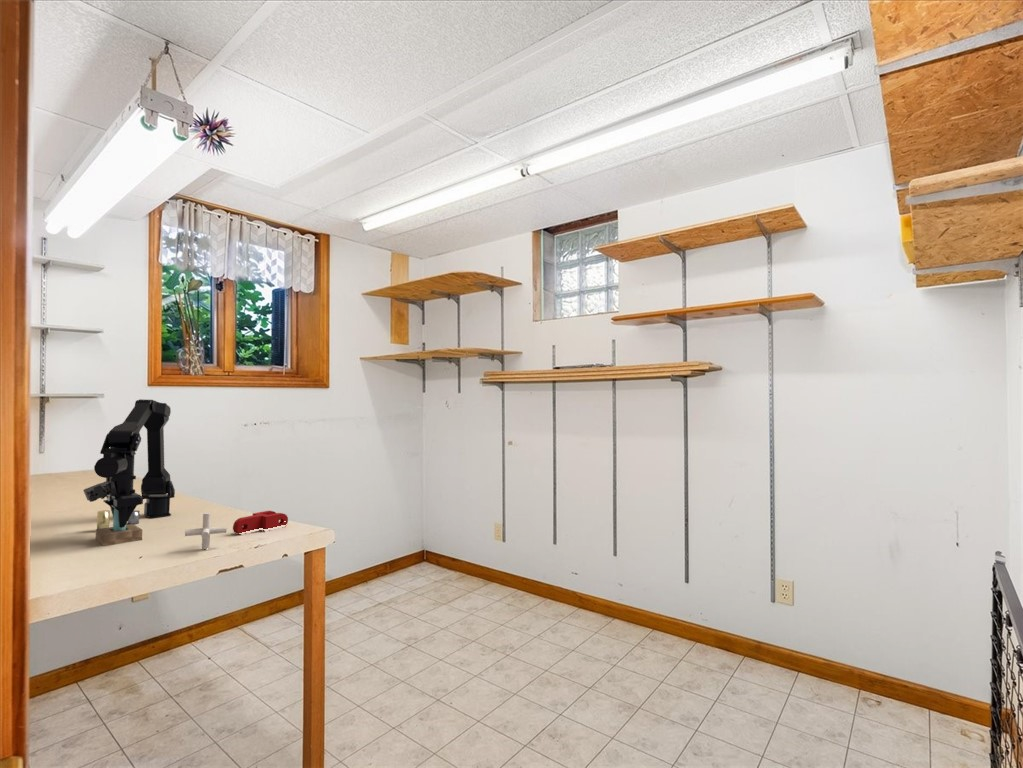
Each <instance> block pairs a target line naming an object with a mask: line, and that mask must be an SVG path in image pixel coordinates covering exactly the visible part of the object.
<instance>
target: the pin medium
mask: <svg viewBox="0 0 1023 768" xmlns="http://www.w3.org/2000/svg"><path fill="white" fill-rule="evenodd" d="M110 512H111V510H109V509H108V510H107V509H106V510H99V511H97V518H96V519H97V520H96V529H102V528H109V527H110V517H111V516H110V515H111V513H110Z"/></svg>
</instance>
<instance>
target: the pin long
mask: <svg viewBox="0 0 1023 768" xmlns="http://www.w3.org/2000/svg"><path fill="white" fill-rule="evenodd" d="M112 519H113V521H112V522H113V524H112V527H113V532H116V531H123V530H126V525H127V524H126V525H125V527H122V528H120V527H119V521H118V514H117V510H116V509H114V517H113V516H112Z"/></svg>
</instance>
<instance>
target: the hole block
mask: <svg viewBox="0 0 1023 768" xmlns="http://www.w3.org/2000/svg"><path fill="white" fill-rule="evenodd" d="M142 540H143V529H142V528H141V527H138V526H137V525H136V524H135V525H134V524H130V525H128V524H126V530H123V531H116V532H113V526H109V528H102V529H97V528H96V529H95V541H96V542H98V543H100V544H101V545H103V547H106V546H112V545H119V544H125V543H130V542H138V541H142Z"/></svg>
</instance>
